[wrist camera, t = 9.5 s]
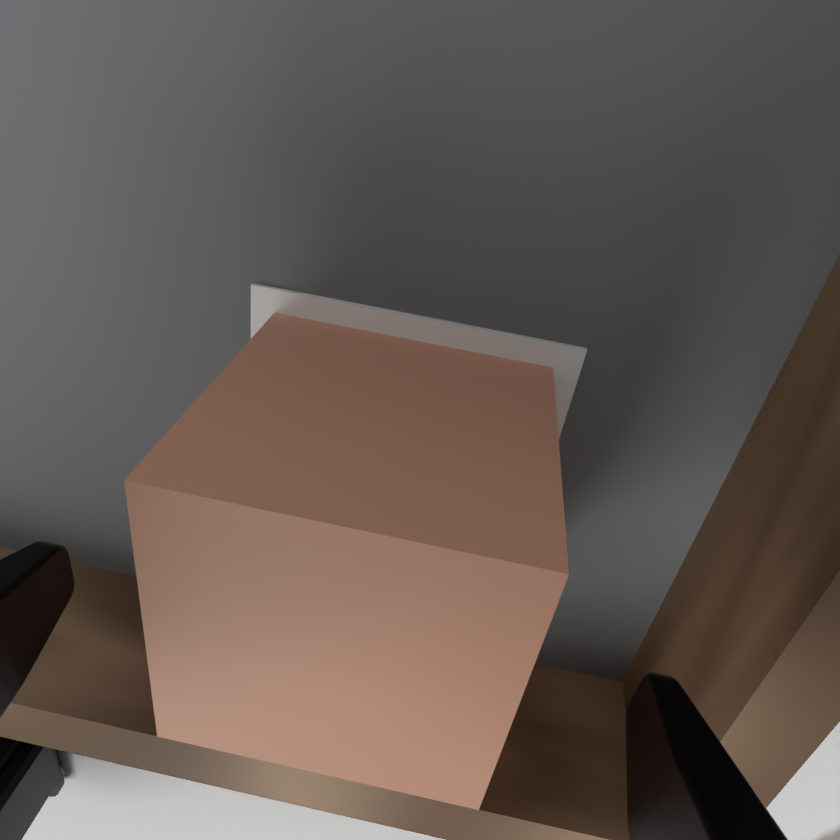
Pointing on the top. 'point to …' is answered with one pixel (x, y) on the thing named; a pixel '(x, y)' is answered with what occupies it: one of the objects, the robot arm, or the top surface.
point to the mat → (417, 237)
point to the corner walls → (548, 686)
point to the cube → (352, 556)
